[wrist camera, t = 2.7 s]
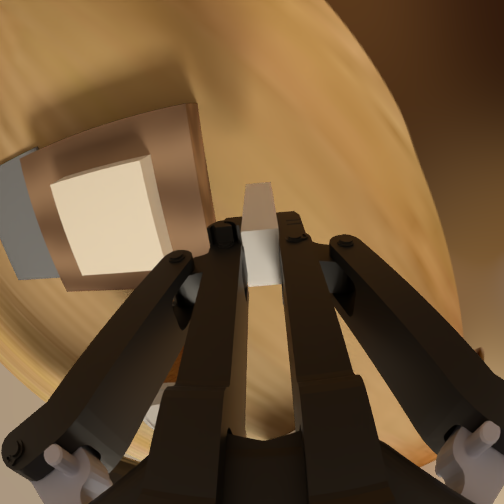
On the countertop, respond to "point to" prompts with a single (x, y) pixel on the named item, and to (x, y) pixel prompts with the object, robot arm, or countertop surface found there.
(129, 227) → the coaster
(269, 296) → the countertop surface
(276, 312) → the countertop surface
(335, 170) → the countertop surface
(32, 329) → the countertop surface
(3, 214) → the rubber mat
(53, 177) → the walnut board
